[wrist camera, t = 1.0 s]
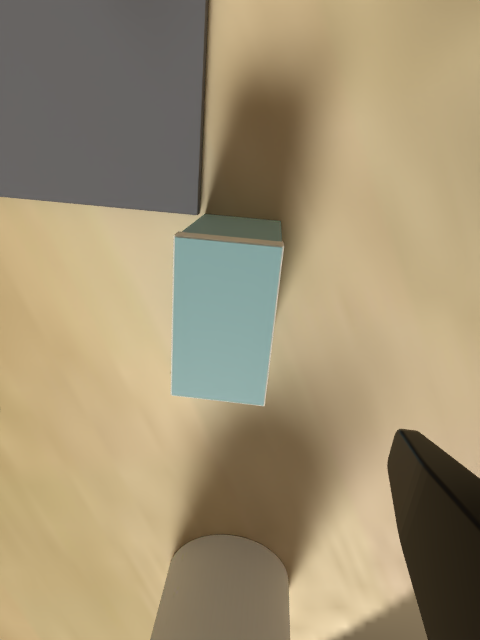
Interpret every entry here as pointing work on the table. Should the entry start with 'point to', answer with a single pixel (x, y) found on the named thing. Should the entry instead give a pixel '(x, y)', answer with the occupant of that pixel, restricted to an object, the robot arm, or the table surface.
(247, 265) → the pale teal block
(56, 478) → the table surface
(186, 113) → the mat
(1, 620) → the table surface
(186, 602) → the cup
